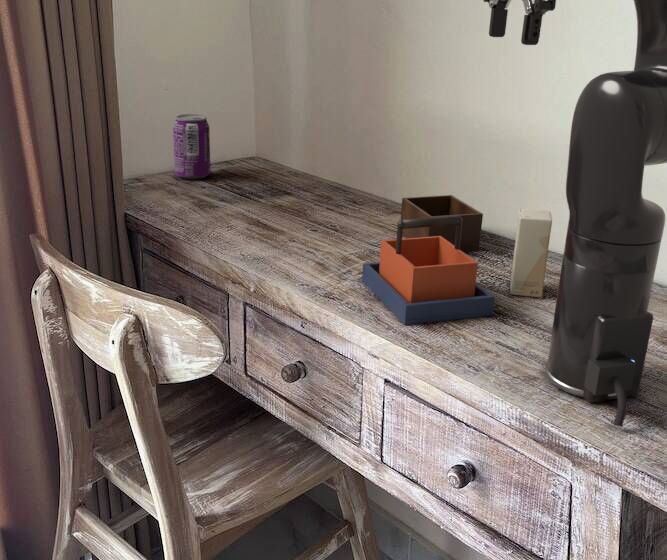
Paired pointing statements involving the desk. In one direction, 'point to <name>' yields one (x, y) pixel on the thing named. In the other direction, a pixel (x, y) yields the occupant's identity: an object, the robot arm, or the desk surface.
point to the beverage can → (191, 146)
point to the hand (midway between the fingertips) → (512, 40)
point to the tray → (427, 310)
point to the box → (530, 252)
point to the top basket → (428, 263)
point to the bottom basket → (443, 208)
